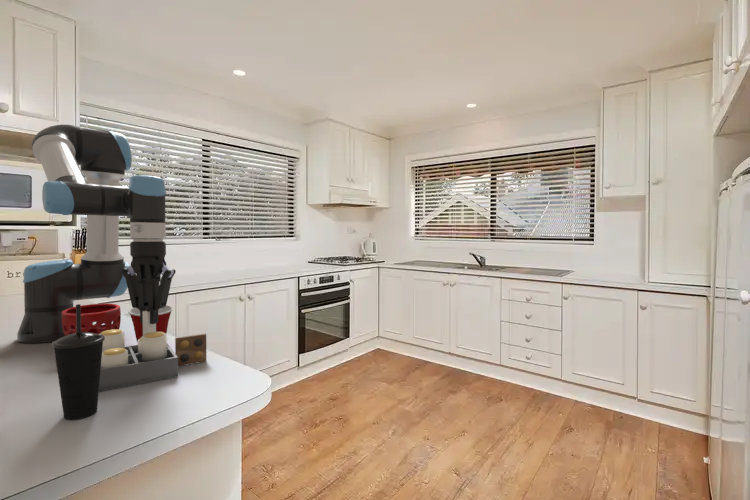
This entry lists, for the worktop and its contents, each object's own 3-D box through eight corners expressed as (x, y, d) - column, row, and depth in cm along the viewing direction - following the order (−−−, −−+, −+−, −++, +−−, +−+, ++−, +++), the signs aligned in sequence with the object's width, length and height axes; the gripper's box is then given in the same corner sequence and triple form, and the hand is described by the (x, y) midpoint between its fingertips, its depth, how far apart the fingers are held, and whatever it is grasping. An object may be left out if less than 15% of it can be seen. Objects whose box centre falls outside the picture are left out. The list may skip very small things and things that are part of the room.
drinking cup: (72, 405, 76) (70, 300, 75) (114, 404, 76) (112, 300, 75) (42, 424, 68) (39, 308, 67) (89, 423, 69) (87, 308, 68)
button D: (140, 356, 92) (140, 333, 92) (164, 352, 95) (164, 330, 95) (143, 361, 88) (143, 337, 88) (168, 357, 91) (168, 334, 91)
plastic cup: (128, 359, 102) (128, 313, 102) (128, 348, 111) (127, 306, 111) (175, 353, 108) (175, 309, 108) (171, 343, 117) (171, 303, 117)
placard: (175, 365, 98) (175, 337, 98) (205, 360, 103) (205, 333, 102) (176, 366, 97) (176, 338, 97) (206, 361, 102) (206, 334, 101)
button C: (100, 373, 88) (100, 349, 87) (127, 369, 91) (126, 345, 90) (101, 380, 84) (101, 355, 83) (129, 375, 87) (129, 351, 86)
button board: (90, 370, 94) (89, 351, 94) (165, 358, 104) (165, 341, 104) (92, 392, 81) (92, 371, 81) (178, 376, 91) (178, 357, 91)
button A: (98, 353, 94) (98, 330, 93) (123, 349, 97) (123, 327, 96) (99, 359, 90) (99, 335, 89) (125, 355, 93) (125, 332, 92)
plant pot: (62, 349, 110) (61, 306, 110) (119, 341, 118) (118, 301, 118) (62, 361, 100) (60, 314, 99) (123, 352, 108) (122, 308, 107)
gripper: (111, 240, 94) (113, 339, 95) (162, 241, 92) (163, 342, 93) (135, 239, 101) (136, 331, 102) (182, 240, 99) (183, 334, 100)
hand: (149, 336), depth 98 cm, fingers closed
